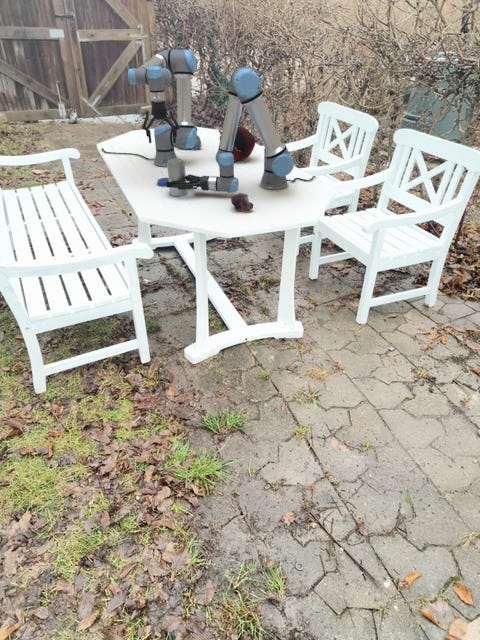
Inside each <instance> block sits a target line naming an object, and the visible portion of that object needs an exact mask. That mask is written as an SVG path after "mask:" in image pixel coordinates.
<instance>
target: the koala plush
mask: <svg viewBox="0 0 480 640" xmlns="http://www.w3.org/2000/svg"><path fill="white" fill-rule="evenodd" d="M191 122H192V124H193V125H194V128H195V129H196V130H197V131H198V127H197V126H196V125H195V123H194V122H193V121H192V120H191ZM201 148H202V141H201V137H200V136H199V135H198V134H197V140H196V144H195V146H194V147H193V148H181V149H182V150H195V151H197V150H200V149H201Z"/></svg>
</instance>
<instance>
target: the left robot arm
mask: <svg viewBox="0 0 480 640" xmlns="http://www.w3.org/2000/svg"><path fill="white" fill-rule="evenodd" d="M196 72H197V60H196V55H195V53H194V51H192V50H191V49H165V50H161V51H159V52H157V53H155V54H153V55H152V56H151V57H150V59H149V60H148V61H147V62H145V63H143V64H142V65H140V66H138V67H137V68H135V67H133V68H129V69H128V71H127V79H128V83H129V84H131V85H136V86H138V85H139V86H140V85H142V86H145V85H147V86H148V88H149V96H150V100H151V101H150V105H151V110H150V109H147V110H146V111H145V118H144V120H143V124H142V127H141V130H144V131H145V135H146V137H147V138H148V143H149V144H152V134H151V129H150V128H151V126H152V125H153V123H154V122H155V120H156V121H163V120H164V121H165V122H167V124H163V125H159V126H156V127H155V128H154V129H153V133H154V134H153V136H154V145H155V155H154V158H148V157H146V156H145V155H141V154H139V153H131V152H112V151H105V149H104V148H101V151H103V152H104V153H106V154H113V155H114V154H115V155H116V154H118V155H132V156H133V155H134V156H139V157H141V158H144V159H145V160H150V161H154V165H155V166H157V167H163V168H164V167H165V168H168V167H167V164H168V160H170V159H179V158H178V157H179V156H177V153H176V151H175V149H176V148H177V149H182V148H193V147H194V146H195V144H196V140H197V135H198V129H197V130H196V129H195V128H194V125H195V124H194V123H193V124H194V125H193V124H192V122H193V121H192V78H193V77H194V74H195V73H196ZM172 73H173V76H174V78H175V79H176V109H177V111H176V113H177V114H176V117H177V119H176V117H175V115H174V112H173V109H170V110H167V102H166V94H165V93H166V92H165V85H168V84H169V83H170V82H171V80H172ZM151 115H152V116H153V117H152V119H151V120H150V122H149V123H148V121H149V118H150V116H151ZM167 115H168V116H170V118H171V120H172V121H171V120H170V118H169V117H168V116H167ZM191 121H192V122H191ZM147 123H148V124H147Z"/></svg>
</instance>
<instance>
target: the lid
mask: <svg viewBox="0 0 480 640" xmlns="http://www.w3.org/2000/svg"><path fill="white" fill-rule="evenodd" d="M166 182H169V177H162V178H159V179H157V186H159V187H167V184H166Z"/></svg>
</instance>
